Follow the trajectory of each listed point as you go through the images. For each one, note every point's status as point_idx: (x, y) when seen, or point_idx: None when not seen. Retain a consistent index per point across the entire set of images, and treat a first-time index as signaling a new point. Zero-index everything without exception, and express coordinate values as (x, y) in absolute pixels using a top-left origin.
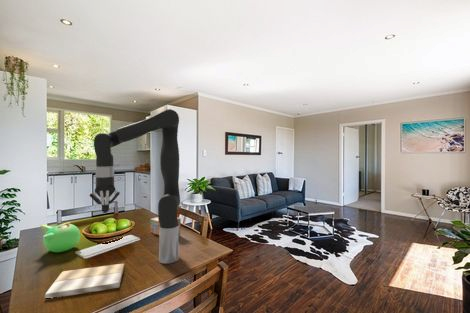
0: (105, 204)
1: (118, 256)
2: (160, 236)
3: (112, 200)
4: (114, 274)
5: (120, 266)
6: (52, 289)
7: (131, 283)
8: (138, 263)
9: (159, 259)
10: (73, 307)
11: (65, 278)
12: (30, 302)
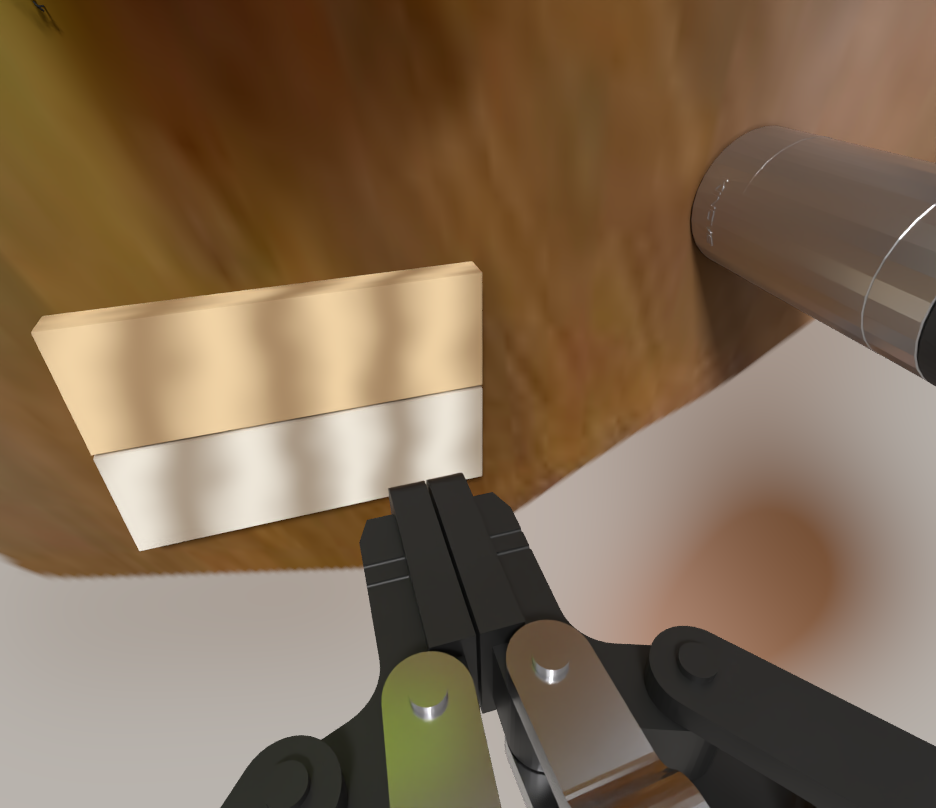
0: (474, 665)
1: (389, 17)
2: (839, 313)
3: (719, 786)
4: (445, 408)
5: (463, 315)
6: (149, 522)
7: (526, 433)
8: (562, 216)
9: (701, 230)
10: (321, 565)
11: (143, 427)
12: (79, 546)
